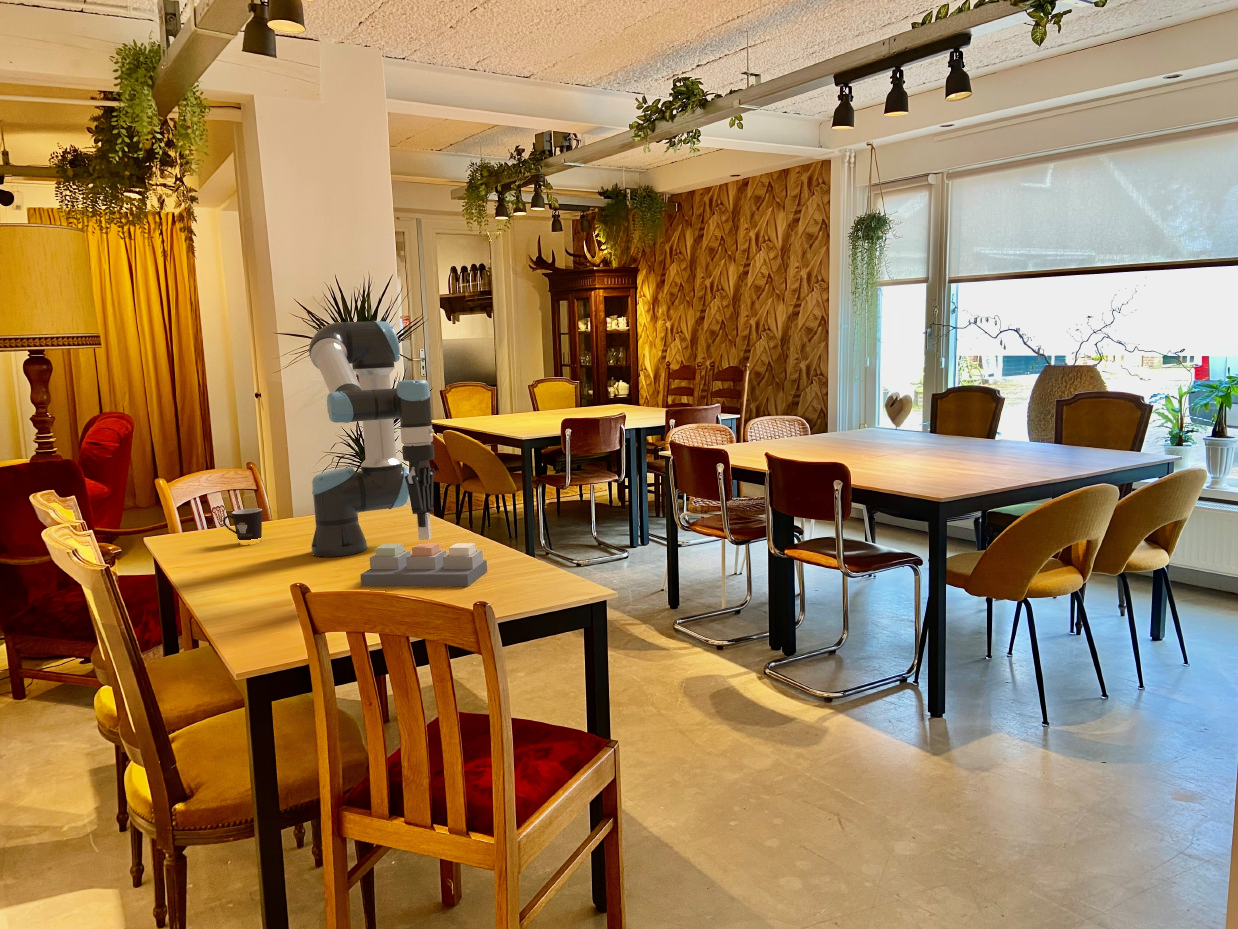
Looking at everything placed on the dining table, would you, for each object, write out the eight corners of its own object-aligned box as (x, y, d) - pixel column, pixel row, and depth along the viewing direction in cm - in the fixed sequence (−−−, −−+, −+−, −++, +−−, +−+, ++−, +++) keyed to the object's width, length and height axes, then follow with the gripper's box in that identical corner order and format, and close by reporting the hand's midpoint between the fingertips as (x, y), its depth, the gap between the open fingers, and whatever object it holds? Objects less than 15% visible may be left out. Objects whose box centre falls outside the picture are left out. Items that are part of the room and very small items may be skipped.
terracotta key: (412, 560, 217) (411, 548, 216) (420, 555, 221) (420, 543, 221) (432, 560, 216) (431, 547, 215) (439, 555, 221) (438, 543, 220)
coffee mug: (271, 541, 273) (268, 509, 272) (246, 547, 266) (243, 514, 264) (248, 538, 279) (244, 507, 278) (223, 544, 272) (219, 512, 271)
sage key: (376, 560, 218) (375, 548, 218) (385, 556, 223) (384, 543, 223) (395, 560, 217) (394, 548, 217) (404, 556, 222) (403, 543, 222)
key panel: (361, 586, 213) (359, 562, 213) (386, 571, 227) (384, 548, 226) (468, 586, 208) (466, 561, 208) (487, 571, 222) (485, 548, 221)
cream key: (449, 560, 215) (448, 547, 214) (457, 555, 220) (456, 543, 219) (469, 560, 214) (468, 547, 214) (476, 555, 219) (475, 543, 218)
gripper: (421, 446, 208) (429, 545, 211) (442, 440, 221) (449, 533, 224) (391, 447, 209) (399, 545, 212) (414, 441, 222) (421, 533, 225)
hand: (425, 539), depth 218 cm, fingers closed
